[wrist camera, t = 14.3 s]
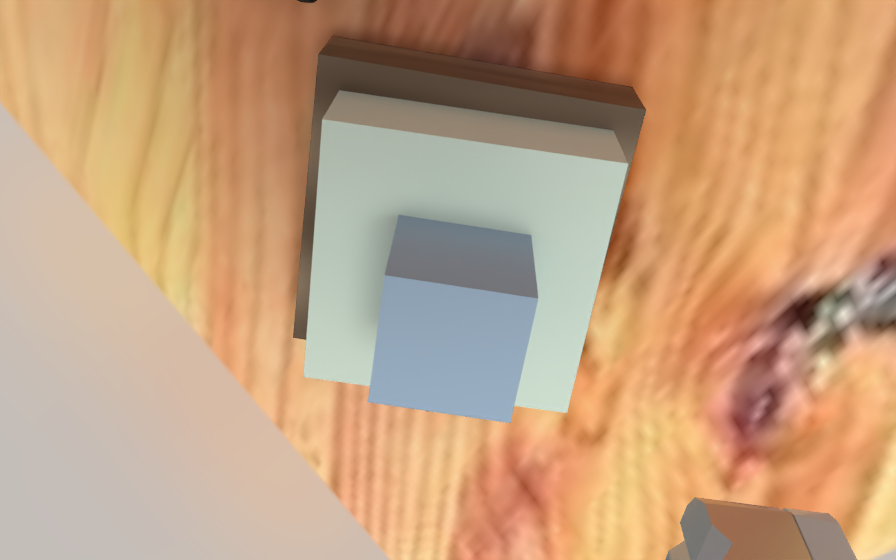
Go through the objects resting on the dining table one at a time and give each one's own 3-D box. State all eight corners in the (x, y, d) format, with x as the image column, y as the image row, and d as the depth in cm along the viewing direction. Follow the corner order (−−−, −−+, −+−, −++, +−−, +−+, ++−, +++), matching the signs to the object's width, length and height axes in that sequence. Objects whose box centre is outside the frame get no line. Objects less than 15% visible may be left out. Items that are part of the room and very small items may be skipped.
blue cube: (398, 214, 32) (384, 274, 27) (531, 235, 32) (538, 298, 27) (383, 328, 34) (368, 402, 30) (507, 347, 34) (510, 423, 30)
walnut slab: (334, 33, 37) (318, 54, 33) (630, 84, 37) (646, 109, 34) (308, 296, 43) (292, 337, 39) (564, 337, 43) (571, 381, 40)
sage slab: (339, 90, 34) (322, 119, 30) (613, 130, 34) (628, 163, 30) (320, 328, 39) (303, 377, 35) (559, 361, 39) (566, 412, 36)
